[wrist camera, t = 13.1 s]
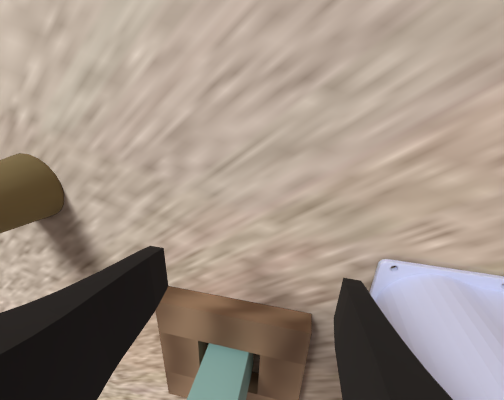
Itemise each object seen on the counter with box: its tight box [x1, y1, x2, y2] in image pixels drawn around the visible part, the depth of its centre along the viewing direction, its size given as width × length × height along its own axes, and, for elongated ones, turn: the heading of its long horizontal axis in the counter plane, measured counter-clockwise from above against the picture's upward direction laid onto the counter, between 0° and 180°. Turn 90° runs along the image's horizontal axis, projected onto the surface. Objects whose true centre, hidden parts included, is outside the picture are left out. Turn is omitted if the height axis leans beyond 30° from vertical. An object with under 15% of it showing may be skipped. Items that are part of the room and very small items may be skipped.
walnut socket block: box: [156, 286, 311, 400], centre depth 25 cm, size 14×14×2 cm
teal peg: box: [187, 343, 253, 400], centre depth 23 cm, size 4×4×7 cm
